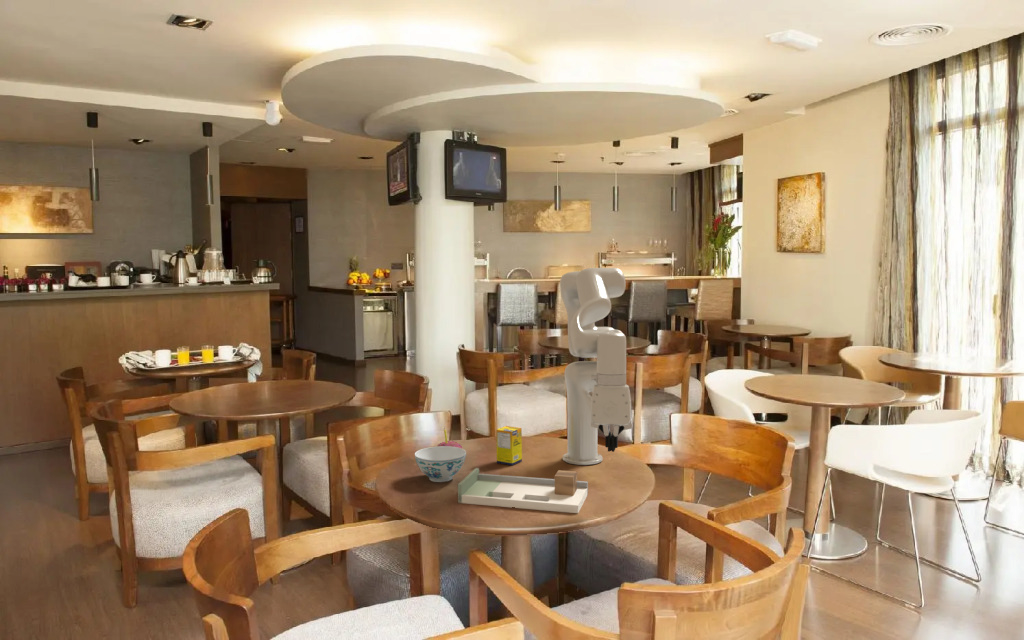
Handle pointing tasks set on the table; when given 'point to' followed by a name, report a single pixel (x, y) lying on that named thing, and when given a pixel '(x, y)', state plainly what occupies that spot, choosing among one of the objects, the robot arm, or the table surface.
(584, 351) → the robot arm
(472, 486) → the trap board
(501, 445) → the supplement box
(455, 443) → the cupcake
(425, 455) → the chinaware
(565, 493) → the walnut block
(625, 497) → the table surface
